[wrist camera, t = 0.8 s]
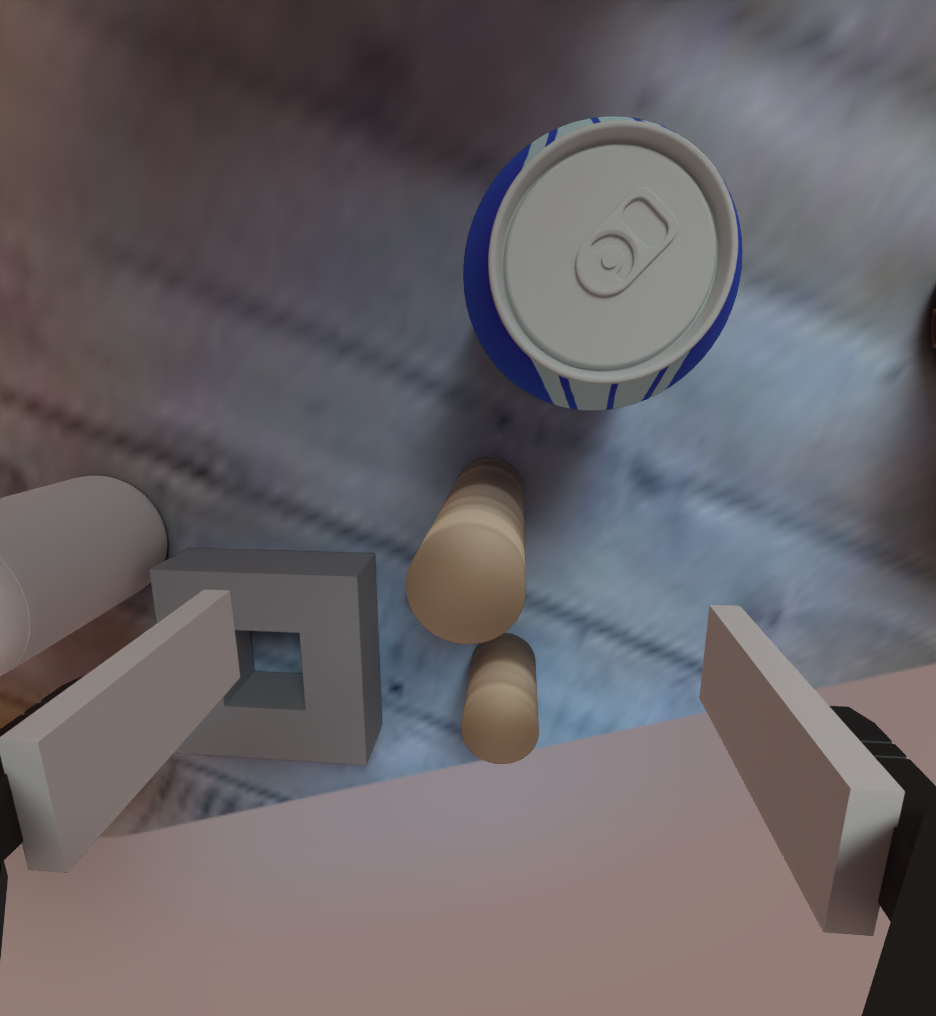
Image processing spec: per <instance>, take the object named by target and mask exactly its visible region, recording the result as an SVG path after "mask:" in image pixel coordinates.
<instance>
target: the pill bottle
mask: <svg viewBox="0 0 936 1016" xmlns="http://www.w3.org/2000/svg"><path fill="white" fill-rule="evenodd" d="M166 554H167V534H166V530H165V526H164V523H163V521H162V518H161V516H160V514H159V513H158V511H157V509H156V508H155V506H154V505H153V504H152V503H151V501H150V500H149V499H148V498H147V497H146V496H145V495H144V494H143V493H141V492H140V491H139V490H138V489H136V488H135V487H133V486H131V485H130V484H128V483H126V482H123V481H121V480H118V479H115V478H112V477H107V476H85V477H78V478H73V479H69V480H66V481H62V482H58V483H55V484H51V485H47V486H44V487H40V488H36V489H33V490H29V491H25V492H21V493H18V494H14V495H10V496H7V497H3V498H0V676H2V675H4V674H6V673H7V672H9V671H11V670H13V669H14V668H16V667H18V666H19V665H21V664H22V663H24V662H26V661H27V660H29V659H30V658H32V657H34V656H35V655H37V654H39V653H40V652H42V651H43V650H45V649H47V648H48V647H50V646H52V645H53V644H55V643H56V642H58V641H60V640H61V639H63V638H64V637H66V636H68V635H69V634H71V633H73V632H74V631H76V630H77V629H79V628H81V627H82V626H84V625H86V624H87V623H89V622H90V621H92V620H94V619H95V618H97V617H98V616H100V615H102V614H103V613H105V612H107V611H108V610H110V609H111V608H113V607H115V606H116V605H118V604H119V603H121V602H123V601H124V600H126V599H128V598H129V597H131V596H132V595H134V594H136V593H137V592H139V591H140V590H142V589H143V588H145V587H146V586H147V585H148V584H149V583H150V582H151V580H150V573H149V570H150V569H151V568H153V567H155V566H157V565H159V564H161V563H162V562H164V561H165V558H166Z"/></svg>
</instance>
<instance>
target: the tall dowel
mask: <svg viewBox="0 0 936 1016" xmlns="http://www.w3.org/2000/svg"><path fill="white" fill-rule="evenodd" d="M406 592H407V598H408V602H409V605H410V607H411V610H412V611H413V613H414V615H415V617H416V618H417V619H418V621H419V622H420V623H421V624H422V625H423V626H424V627H425V628H426V629H427V630H428V631H430V632H431V633H433V634H434V635H436V636H437V637H439V638H441V639H444V640H446V641H449V642H453V643H458V644H478V643H483V642H487V641H490V640H492V639H495V638H496V637H498V636H500V635H502V634H503V633H504V632H506V631H507V630H508V629H509V628H510V627H511V626H512V625H513V624H514V622H515V621H516V620H517V618H518V617H519V615H520V613H521V611H522V608H523V605H524V601H525V594H526V580H525V532H524V488H523V483H522V480H521V478H520V476H519V474H518V473H517V471H516V470H515V469H514V468H513V467H512V466H511V465H509V464H508V463H506V462H504V461H502V460H499V459H494V458H485V459H480V460H477V461H475V462H472V463H471V464H469V465H468V466H467V467H466V468H465V469H464V470H463V471H462V473H461V474H460V476H459V477H458V479H457V481H456V483H455V485H454V487H453V488H452V490H451V492H450V494H449V496H448V497H447V499H446V501H445V503H444V505H443V506H442V508H441V510H440V512H439V514H438V516H437V517H436V519H435V521H434V523H433V525H432V526H431V528H430V530H429V532H428V534H427V535H426V537H425V539H424V541H423V543H422V544H421V546H420V548H419V550H418V552H417V554H416V555H415V557H414V559H413V561H412V563H411V565H410V567H409V570H408V574H407V579H406Z"/></svg>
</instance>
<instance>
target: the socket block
mask: <svg viewBox="0 0 936 1016" xmlns="http://www.w3.org/2000/svg"><path fill="white" fill-rule="evenodd" d="M149 573H150V580H151V587H152V594H153V601H154V608H155V614H156V621H157V623H159V622H160V621H161V620H163V619H164V618H165V617H167V616H168V615H170V614H171V613H172V612H174V611H175V610H176V609H178V608H179V607H181V606H182V605H183V604H185V603H186V602H188V601H189V600H190V599H192V598H193V597H194V596H196V595H197V594H199V593H200V592H201V591H203V590H230V595H231V604H232V612H233V621H234V629H235V637H236V646H237V654H238V663H239V671H240V678H239V679H238V681H237V682H236V683H235V684H234V685H233V686H232V687H231V689H230V690H229V691H228V692H227V693H226V694H225V695H224V696H223V698H222V699H221V700H220V701H219V702H218V703H217V704H216V705H215V707H214V708H213V709H212V710H211V711H210V712H209V713H208V715H207V716H206V717H205V718H204V719H203V720H202V721H201V722H200V724H199V725H198V726H197V727H196V728H195V729H194V730H193V731H192V733H191V734H190V735H189V736H188V737H187V738H186V739H185V740H184V742H183V743H182V744H181V745H180V746H179V747H178V748H177V750H176V751H175V752H176V753H178V754H194V755H210V756H226V757H242V758H258V759H274V760H290V761H306V762H322V763H339V764H355V765H367V763H368V760H369V758H370V755H371V752H372V750H373V747H374V745H375V742H376V739H377V737H378V734H379V732H380V729H381V726H382V707H381V683H380V659H379V636H378V612H377V588H376V564H375V553H348V552H314V551H280V550H246V549H212V548H188V549H186V550H184V551H182V552H180V553H179V554H177V555H175V556H173V557H171V558H170V559H168V560H166V561H164V562H162V563H161V564H159V565H157V566H155V567H153V568H151V569H150V570H149ZM250 631H270V632H293V633H300V646H301V658H302V671H303V674H302V673H281V672H261V671H254V662H253V652H252V642H251V632H250Z"/></svg>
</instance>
